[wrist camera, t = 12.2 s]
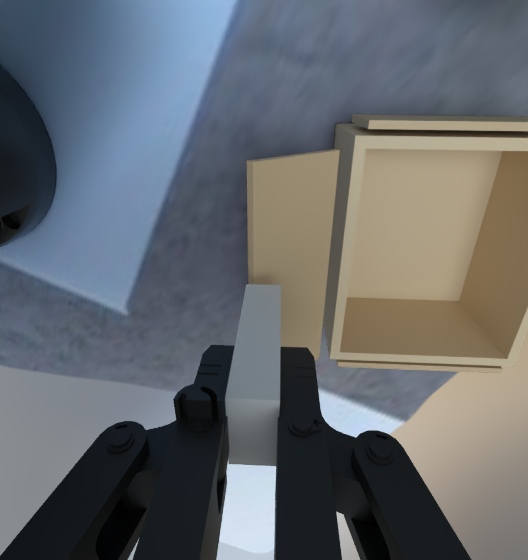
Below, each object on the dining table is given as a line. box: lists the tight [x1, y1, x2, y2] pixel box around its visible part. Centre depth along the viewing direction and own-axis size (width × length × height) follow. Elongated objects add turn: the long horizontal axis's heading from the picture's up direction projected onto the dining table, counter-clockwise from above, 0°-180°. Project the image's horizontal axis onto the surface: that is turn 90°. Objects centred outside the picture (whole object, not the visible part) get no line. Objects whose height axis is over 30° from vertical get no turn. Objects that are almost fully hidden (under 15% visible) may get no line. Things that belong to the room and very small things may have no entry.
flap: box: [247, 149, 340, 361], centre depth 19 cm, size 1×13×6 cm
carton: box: [323, 114, 528, 373], centre depth 25 cm, size 12×15×8 cm
